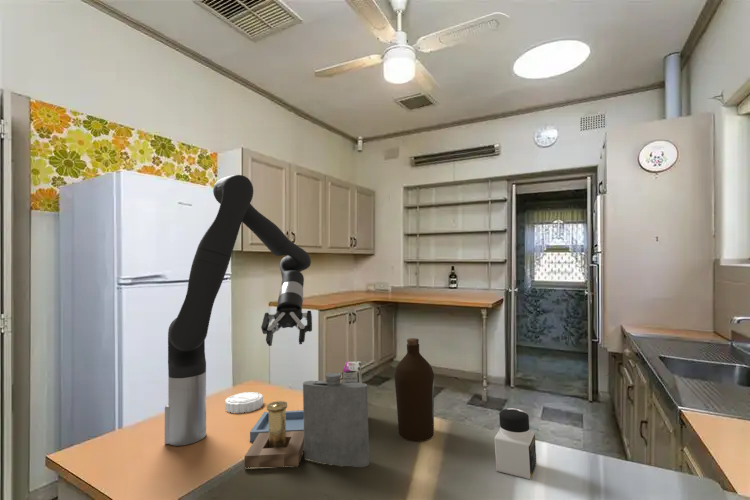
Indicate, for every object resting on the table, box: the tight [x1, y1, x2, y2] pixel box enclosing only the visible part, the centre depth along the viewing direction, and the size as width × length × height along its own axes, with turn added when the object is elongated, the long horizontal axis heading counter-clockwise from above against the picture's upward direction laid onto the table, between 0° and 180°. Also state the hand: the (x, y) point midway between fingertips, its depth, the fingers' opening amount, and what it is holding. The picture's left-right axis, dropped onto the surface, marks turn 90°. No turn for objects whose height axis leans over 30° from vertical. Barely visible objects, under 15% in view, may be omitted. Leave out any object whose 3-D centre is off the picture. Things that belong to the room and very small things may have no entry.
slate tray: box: [249, 409, 304, 443], centre depth 103 cm, size 14×14×2 cm
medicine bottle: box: [494, 407, 538, 480], centre depth 80 cm, size 7×7×12 cm
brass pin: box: [266, 400, 288, 448], centre depth 89 cm, size 5×5×12 cm
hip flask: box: [302, 372, 370, 468], centre depth 85 cm, size 16×4×20 cm, turn 75°
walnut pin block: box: [244, 431, 304, 468], centre depth 88 cm, size 12×12×3 cm
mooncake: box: [224, 391, 264, 414], centre depth 123 cm, size 12×12×4 cm
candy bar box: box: [341, 360, 363, 383], centre depth 107 cm, size 11×5×16 cm, turn 179°
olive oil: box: [394, 337, 435, 442], centre depth 99 cm, size 11×11×25 cm
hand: (285, 343), depth 102 cm, fingers open, 8 cm apart
